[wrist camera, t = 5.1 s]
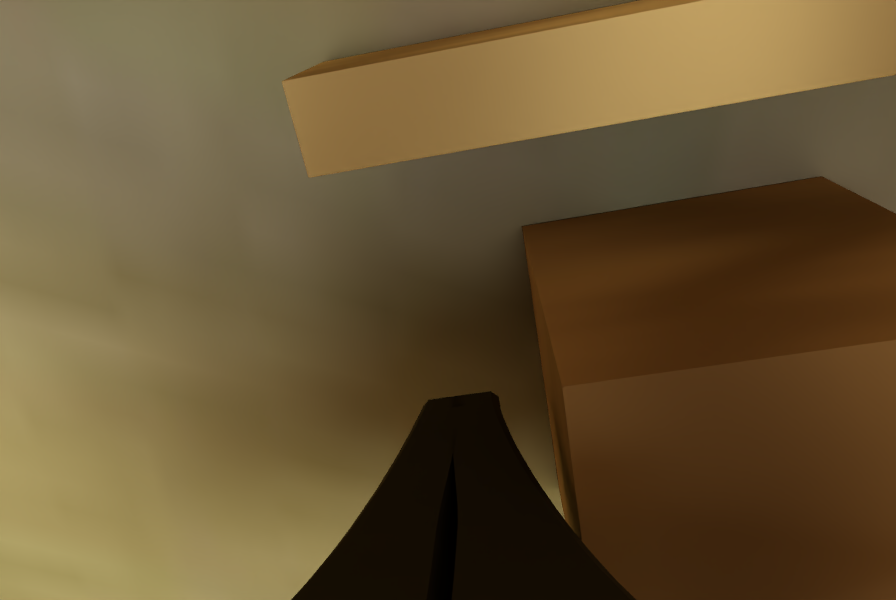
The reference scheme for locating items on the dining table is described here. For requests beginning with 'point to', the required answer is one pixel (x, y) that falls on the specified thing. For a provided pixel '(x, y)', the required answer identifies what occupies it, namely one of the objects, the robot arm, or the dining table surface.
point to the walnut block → (726, 391)
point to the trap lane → (580, 75)
